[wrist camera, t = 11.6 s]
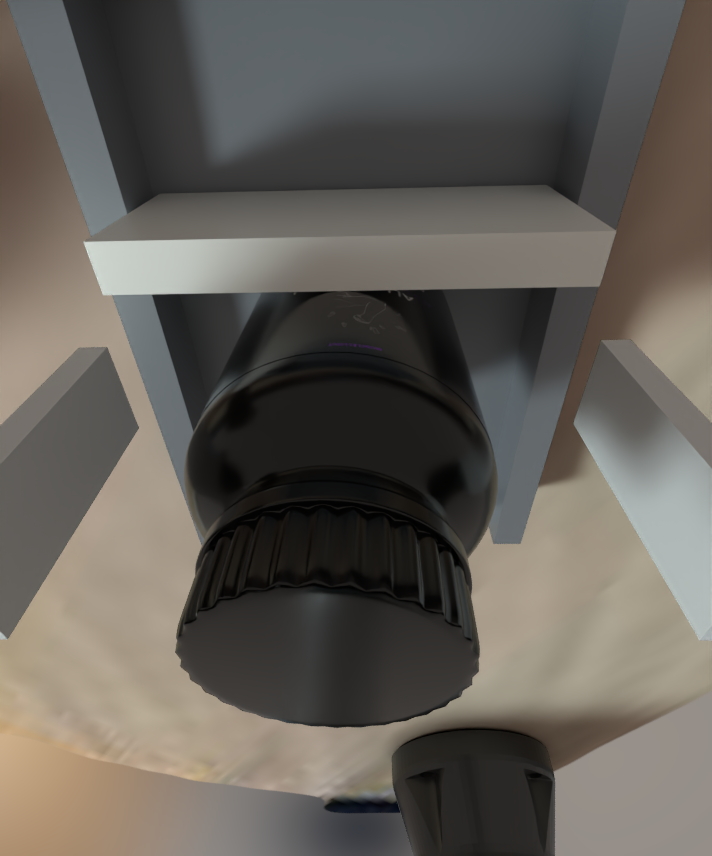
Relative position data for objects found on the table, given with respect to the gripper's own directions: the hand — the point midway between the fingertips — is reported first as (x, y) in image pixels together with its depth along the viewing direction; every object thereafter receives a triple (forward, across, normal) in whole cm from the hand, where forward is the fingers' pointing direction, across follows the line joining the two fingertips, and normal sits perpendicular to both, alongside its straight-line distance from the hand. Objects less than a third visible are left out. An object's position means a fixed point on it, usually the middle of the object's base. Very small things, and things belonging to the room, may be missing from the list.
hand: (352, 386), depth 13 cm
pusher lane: (+5, 0, 0) cm, 5 cm away
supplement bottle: (+5, 0, 0) cm, 5 cm away
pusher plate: (+4, 0, -4) cm, 6 cm away
